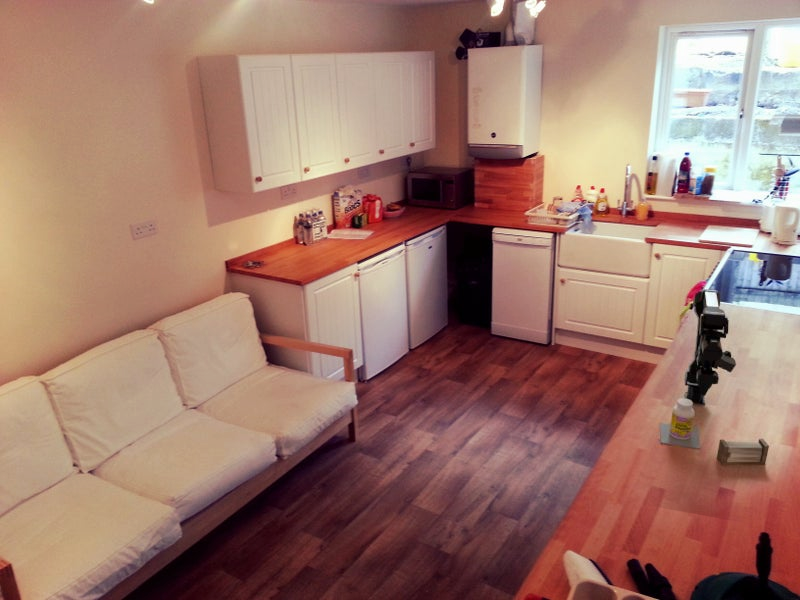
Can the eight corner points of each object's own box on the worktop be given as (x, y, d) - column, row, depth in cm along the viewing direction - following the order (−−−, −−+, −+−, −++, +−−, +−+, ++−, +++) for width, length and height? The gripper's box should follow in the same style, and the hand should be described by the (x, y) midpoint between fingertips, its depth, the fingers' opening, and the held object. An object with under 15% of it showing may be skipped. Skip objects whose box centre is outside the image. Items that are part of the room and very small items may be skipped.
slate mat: (660, 423, 226) (660, 422, 225) (698, 429, 222) (698, 428, 222) (660, 443, 215) (660, 442, 215) (700, 449, 211) (700, 448, 211)
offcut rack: (716, 458, 207) (719, 439, 204) (759, 457, 206) (763, 438, 204) (721, 465, 203) (725, 446, 201) (765, 464, 203) (769, 446, 200)
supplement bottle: (670, 439, 216) (675, 406, 211) (668, 428, 222) (672, 395, 217) (692, 441, 215) (697, 408, 210) (689, 430, 220) (694, 397, 215)
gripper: (739, 363, 204) (731, 406, 210) (733, 337, 220) (726, 378, 226) (700, 359, 208) (694, 401, 214) (697, 334, 224) (691, 374, 230)
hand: (702, 388), depth 221 cm, fingers open, 9 cm apart
